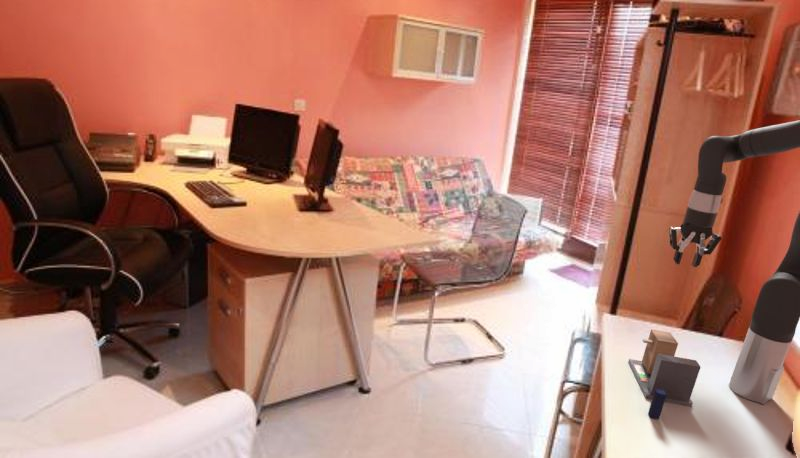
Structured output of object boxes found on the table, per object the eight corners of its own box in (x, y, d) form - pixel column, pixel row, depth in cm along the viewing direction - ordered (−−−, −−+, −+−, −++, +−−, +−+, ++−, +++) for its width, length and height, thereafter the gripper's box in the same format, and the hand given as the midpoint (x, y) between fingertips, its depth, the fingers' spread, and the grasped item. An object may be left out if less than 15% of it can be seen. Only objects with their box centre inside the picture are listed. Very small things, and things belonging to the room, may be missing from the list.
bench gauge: (628, 362, 149) (638, 326, 145) (669, 369, 148) (680, 333, 144) (645, 398, 133) (657, 359, 129) (691, 406, 132) (705, 367, 128)
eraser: (656, 414, 127) (664, 389, 125) (659, 420, 125) (667, 395, 123) (647, 412, 127) (654, 387, 125) (650, 418, 125) (657, 393, 123)
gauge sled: (633, 360, 147) (642, 327, 144) (660, 365, 147) (670, 332, 144) (639, 372, 142) (649, 338, 139) (667, 377, 141) (678, 343, 138)
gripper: (680, 207, 147) (663, 265, 152) (735, 215, 146) (716, 273, 151) (671, 200, 154) (656, 256, 160) (724, 208, 153) (706, 264, 158)
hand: (685, 264), depth 155 cm, fingers open, 4 cm apart
